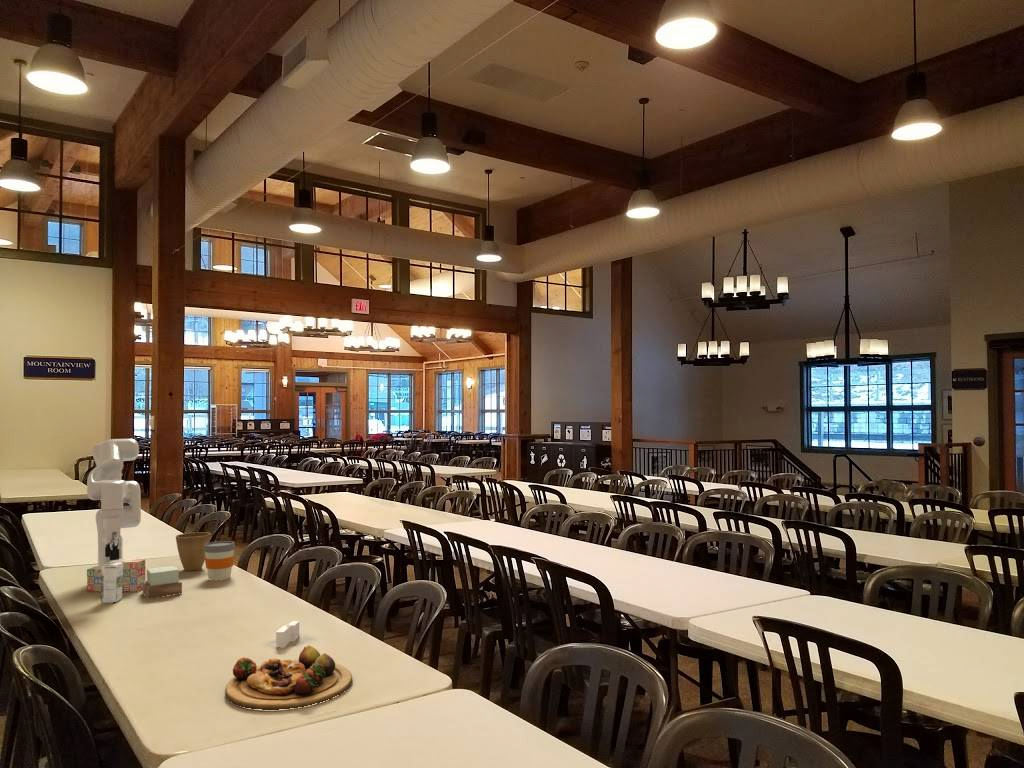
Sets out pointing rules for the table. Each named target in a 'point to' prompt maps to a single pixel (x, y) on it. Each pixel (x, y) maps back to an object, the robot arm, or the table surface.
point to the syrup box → (111, 582)
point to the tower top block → (162, 575)
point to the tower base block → (161, 589)
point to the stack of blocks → (131, 575)
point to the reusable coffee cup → (219, 559)
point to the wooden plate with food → (287, 681)
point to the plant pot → (192, 549)
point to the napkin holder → (287, 634)
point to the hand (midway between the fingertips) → (112, 558)
